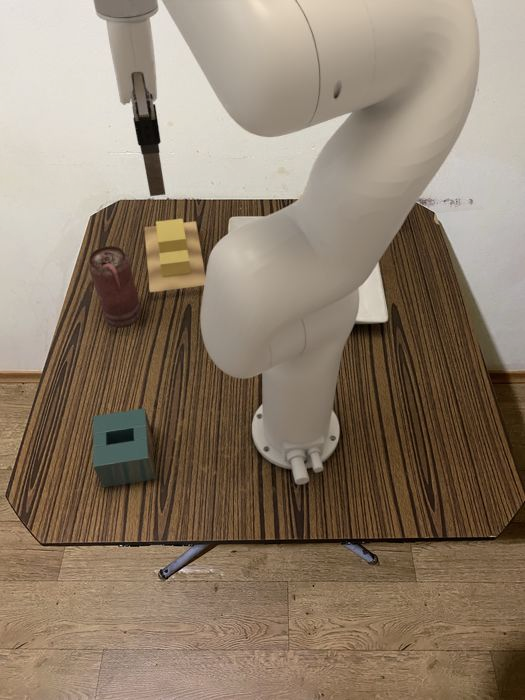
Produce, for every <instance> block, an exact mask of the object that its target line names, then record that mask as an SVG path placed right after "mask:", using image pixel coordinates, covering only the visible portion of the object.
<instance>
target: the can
mask: <svg viewBox="0 0 525 700" xmlns="http://www.w3.org/2000/svg"><path fill="white" fill-rule="evenodd" d="M87 267H88V270H89V274H90V276H91V279H92V283H93V286H94V289H95V292H96V295H97V298H98V301H99V304H100V308H101V310H102V314H103V317H104V320H105V322H106V323H107V324H108V325H109V326H111V327H112V328H118V329H122V328H128V327H132V326H133V325H134V324H136V323H137V322H138V321H140V318H141V316H142V307H141V303H140V299H139V295H138V291H137V286H136V283H135V279H134V275H133V270H132V267H131V263H130V259H129V256H128V254H127V253H126V252H125V251H124V250H123V249H122V248H121V247H118V246H114V245H106V246H102V247H99V248H97V249H95V250H94V251H93V252H91V254H90V256H89V257H88V264H87Z"/></svg>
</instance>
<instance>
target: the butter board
mask: <svg viewBox="0 0 525 700" xmlns="http://www.w3.org/2000/svg"><path fill="white" fill-rule="evenodd" d="M183 224H184V230H185V237H186V244H187V250H188V257H189V264H190V271H191V273H190V274H182V275H174V276H166V277H163V276H162V271H161V265H160V256H159V253H160V250H159V245H158V237H157V228H156V225H152V226H145V227H144V239H145V241H144V242H145V253H146V263H147V265H146V266H147V277H148V278H147V279H148V287H149V289H148V290H149V293H156V292H164V291H172V290H179V289H188V288H195V287H202V286H203V287H204V284H205V277H206V270H205V265H204V259H203V254H202V248H201V243H200V237H199V231H198V226H197V221H188V222H187V221H185V222H183Z"/></svg>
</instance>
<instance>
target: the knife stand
mask: <svg viewBox="0 0 525 700" xmlns="http://www.w3.org/2000/svg"><path fill="white" fill-rule="evenodd" d="M92 419H93V420H92V428H93V429H92V468H93V469H94V472H95V474H96V476H97V478H98V480H99V482H100V484H101V486H102V488H103V489H104V488H109V487H111V488H112V487H116V486H122V485H129V484H135V483H141V482H145V481H152V480H153V481H154V480H155V479H156V474H155V473H156V471H155V460H154V446H153V443H154V442H153V432H152V427H151V424H150V421H149V417H148V414H147V410H146V408H145V407H143V408H138V409H137V408H136V409H130V410H124V411H117V412H112V413H105V414H97V415H93V416H92Z"/></svg>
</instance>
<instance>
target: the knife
mask: <svg viewBox="0 0 525 700" xmlns="http://www.w3.org/2000/svg"><path fill="white" fill-rule="evenodd" d="M148 105H149V103H147V106H148ZM137 107H138V105H137ZM149 107H150V106H149ZM139 147H140V153H141V155H142V156H143V157H142V158H143V163H144V169H145V175H146V180H147V186H148V191H149V197H156V196H164V195H166V187H165V181H164V176H163V175H164V174H163V171H162V169H163V168H162V162H161V156H160V144H154V145H145V146H139Z"/></svg>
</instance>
